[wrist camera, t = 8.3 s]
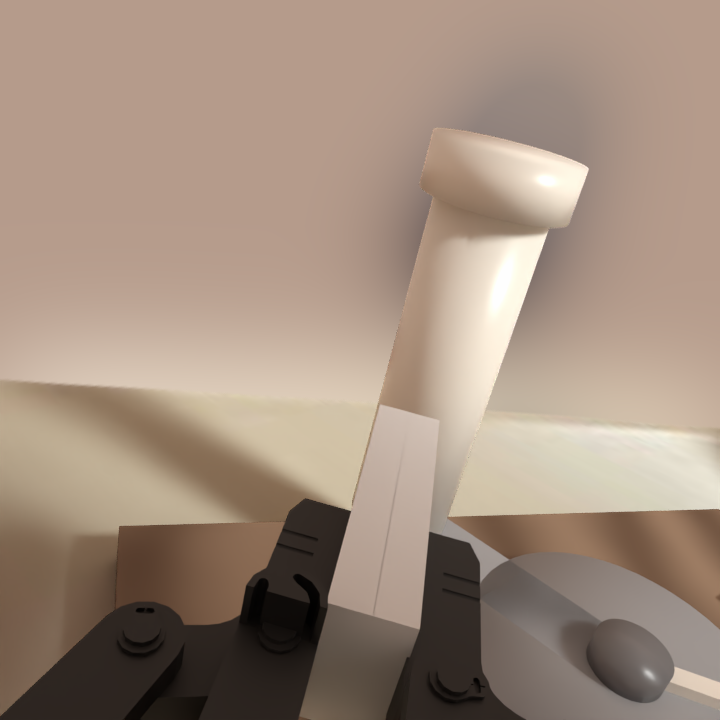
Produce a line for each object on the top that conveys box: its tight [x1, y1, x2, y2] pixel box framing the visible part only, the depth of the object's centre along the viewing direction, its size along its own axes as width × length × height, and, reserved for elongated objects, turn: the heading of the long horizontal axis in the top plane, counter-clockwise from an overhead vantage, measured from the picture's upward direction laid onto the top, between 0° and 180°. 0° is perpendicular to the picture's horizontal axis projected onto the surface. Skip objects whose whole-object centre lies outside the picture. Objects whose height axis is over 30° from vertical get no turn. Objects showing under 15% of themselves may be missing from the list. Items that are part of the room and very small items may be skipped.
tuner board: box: [115, 509, 720, 720], centre depth 21 cm, size 28×17×2 cm, turn 106°
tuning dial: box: [352, 128, 720, 720], centre depth 19 cm, size 19×10×15 cm, turn 56°
